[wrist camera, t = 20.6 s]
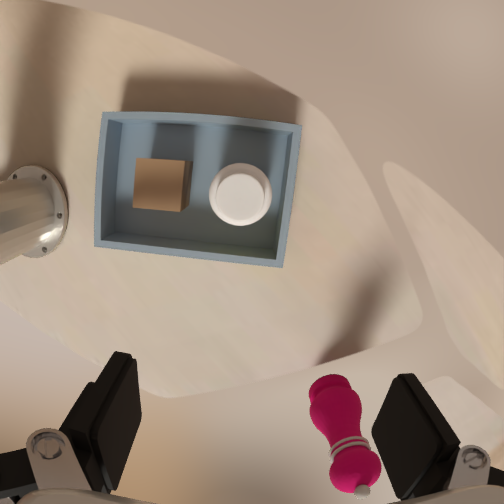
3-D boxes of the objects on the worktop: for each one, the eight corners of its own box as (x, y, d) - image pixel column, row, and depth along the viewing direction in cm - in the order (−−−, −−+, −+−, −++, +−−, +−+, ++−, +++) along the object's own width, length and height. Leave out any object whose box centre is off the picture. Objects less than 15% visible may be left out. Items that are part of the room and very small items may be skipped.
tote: (111, 236, 38) (94, 246, 33) (119, 117, 34) (102, 112, 29) (278, 254, 38) (282, 268, 34) (294, 130, 35) (302, 125, 30)
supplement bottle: (271, 207, 36) (280, 225, 26) (222, 217, 36) (213, 238, 27) (261, 158, 35) (267, 156, 25) (212, 168, 35) (198, 170, 25)
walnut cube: (150, 158, 34) (136, 157, 30) (193, 161, 35) (184, 160, 30) (147, 201, 36) (132, 207, 31) (188, 205, 36) (180, 212, 31)
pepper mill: (321, 364, 43) (358, 477, 23) (361, 378, 44) (409, 480, 24) (296, 400, 44) (317, 511, 25) (335, 411, 45) (367, 513, 26)
